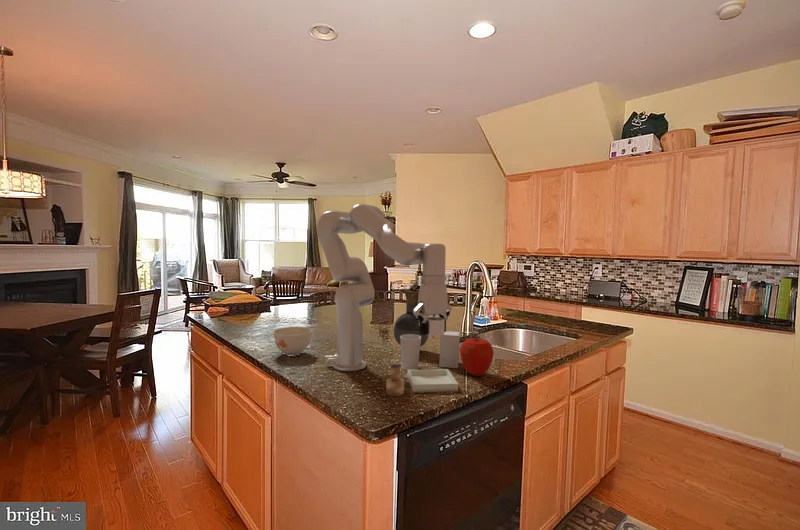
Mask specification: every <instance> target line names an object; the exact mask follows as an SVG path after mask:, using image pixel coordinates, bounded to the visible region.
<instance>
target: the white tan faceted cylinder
mask: <svg viewBox="0 0 800 530" xmlns="http://www.w3.org/2000/svg"><path fill="white" fill-rule="evenodd" d="M389 366H390V367H389V368H390V377H388V378H386V381H385V383H386V388H385V393H386V395H388V396H391V397H392V396H393V397H399V396H400V397H401V396H403V395H404V394H405V379H404V378H403V377H401V369H402V363H390V364H389Z"/></svg>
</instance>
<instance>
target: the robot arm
mask: <svg viewBox="0 0 800 530" xmlns="http://www.w3.org/2000/svg"><path fill="white" fill-rule="evenodd" d="M393 229H394V225H393V222H391V221H390V220H388V218H386V217H385V216H384V212H383V211H382V210H381V208H379V207H378V206H375V205H370V204H366V203H359V204H355V205H354V206H353V207H352V208H351V209H350V212H349V211H348V212H347V211H343V210H328V211H325V212H323V213H322V214H321V215H320V217H319V218H318V220H317V224H316V233H317V237H318V240H319V242H320V245H321V247H322V249H323V253H324V256H325V259H326V261H327V262H326V263H327V265H328V268H329V269H328V270H329V272H330V274H331V277H332V279H333V280H334V281H336V282H338V283H341V282H342V283H345V282H349V283H346V284H343V285H340V287H338V288H337V290H336V292H335V294H334V303H335V308H336V314H337V315H336V317H337V318H336V319H337V321H336V323H337V324H336V326H337V327H336V329H337V330H336V336H337V337H336V338H337V339H336V341H337V342H336V343H337V344H336V345H337V346H336V354H333V355H325V356H324V359H325V361H327V363H332V367H333V369H335V370H337V371H341V372H355V371H359V370H363V369H365V368H366V367H367V362H366V361H365V360H363V327H364V325H363V316H362V312H361V309H360V308H363V307H367V306H370V305H371V304H372V303H373V301H374V299H375V296H376V295H375V294H376V293H375V288H374V285H373V282H372V279H371V276H370V272H369V270H368V267H367V265H366V263H365V262H364V260H362V259H361V258H360V257H357V256H356V257H355V256H350V255H349V253H348V250H347V247H346V244H345V242H344V241H343V239H342V238H341V237H340V235H339V234H347V235H348V234H349V235H350V234H351V235H353V234H358V233H361V232H364V233H365V234H366V235H368V236H370V237H371V238H372V239H373V240H375V241H376V242H377V243H376V244H378V246H379V247H380V249H381V250H382V252H383V253H384V254H386V255H387V256H388V257H389V258H391V259H392V260H393V261H395V262H396V263H398V264H401V265H403V266H411V265H412V266H414V265H415V266H416V265H422V283H421V284H420V287H419V289H418V290H419V294H418V305H417V307H416V308H415V309H414V310H413V313H414V315H415V316H416V318H417V320H418V322H420V334H423V335H427V323H426V321H427V319H428V317H430V316H433V315H435V316H438V317H441V318H444V319H445V325H444V332H446V331H447V320H448V317H449V316H450V315H451V313H452V310H453V306H452V305H450V304H449V303H448V302H449V301H448V298H449V297H448V287H447V284H446V281H447V276H446V253H447V251H446V250H447V249H446V246H445V244H443V243H421V242H411V241H410V242H408V241H405V240H404V239H403V238H401V237H400V236H399V235H397V234H396V233H394V231H393ZM423 317H424V318H423Z"/></svg>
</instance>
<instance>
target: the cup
mask: <svg viewBox="0 0 800 530" xmlns="http://www.w3.org/2000/svg"><path fill="white" fill-rule="evenodd" d="M400 341H401V345H400V353H401V369H403V370H404V371H407V370H419V362H420V352H421V347H420V344H421V336H419V335H413V334H406V335H401V336H400Z"/></svg>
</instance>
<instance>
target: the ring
mask: <svg viewBox="0 0 800 530" xmlns="http://www.w3.org/2000/svg"><path fill="white" fill-rule="evenodd" d="M426 323H427V335H429V336H430V337H432V336H434V337H436V336H439V337H440V336H441V335H443V334H444V325H445V319H444V318H441V317H439V316H435V317H433V316H428V319H427V321H426ZM419 326H420V322H419ZM429 336H428V337H429Z"/></svg>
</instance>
